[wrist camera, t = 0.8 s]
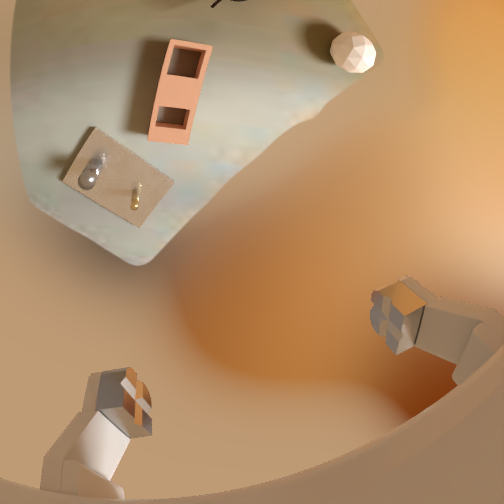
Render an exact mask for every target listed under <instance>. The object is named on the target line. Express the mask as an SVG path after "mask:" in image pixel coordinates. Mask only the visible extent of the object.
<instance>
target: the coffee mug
mask: <svg viewBox="0 0 504 504" xmlns="http://www.w3.org/2000/svg"><path fill="white" fill-rule="evenodd" d="M220 1H221V0H217V1H216V2H215V3H214V4H213V5H212V6H211V7H212V8H213V7H215V6H216V5H217V4H218V3H219V2H220ZM232 1H246V0H232Z"/></svg>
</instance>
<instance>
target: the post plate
mask: <svg viewBox="0 0 504 504" xmlns="http://www.w3.org/2000/svg"><path fill="white" fill-rule="evenodd" d="M63 182H64V183H66V184H67V185H69V186H71V187H72V188H74V189H76V190H77V191H79V192H80V193H82V194H84V195H85V196H87V197H88V198H90V199H92V200H93V201H95V202H97V203H98V204H100V205H102V206H103V207H105V208H107V209H108V210H110V211H112V212H113V213H115V214H117V215H118V216H120V217H122V218H123V219H125V220H127V221H129V222H130V223H132V224H134V225H135V226H137V227H139V228H140V226H141V225H142V224H143V222H144V221H145V220H146V218H147V217H148V216H149V214H150V213H151V212H152V210H153V209H154V208H155V206H156V205H157V204H158V203H159V201H160V200H161V199H162V198H163V196H164V195H165V194H166V193H167V191H168V190H169V189H170V188H171V186H172V185H173V184H174V180H173V179H171V178H170V177H168V176H167V175H165V174H164V173H163V172H161V171H160V170H158V169H157V168H155V167H154V166H152V165H151V164H150V163H148V162H147V161H145V160H144V159H142V158H141V157H139V156H138V155H137V154H135V153H134V152H132V151H131V150H129V149H128V148H126V147H125V146H123V145H122V144H120V143H119V142H118V141H116V140H115V139H113V138H112V137H110V136H109V135H107V134H106V133H104V132H103V131H101V130H100V129H98V128H97V127H95V128H94V130H93V131H92V133H91V134H90V136H89V137H88V139H87V141H86V142H85V144H84V145H83V147H82V148H81V150H80V152H79V153H78V155H77V157H76V158H75V160H74V162H73V163H72V165H71V167H70V169H69V170H68V172H67V174H66V176H65V178H64V179H63Z"/></svg>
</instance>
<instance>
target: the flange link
mask: <svg viewBox="0 0 504 504" xmlns="http://www.w3.org/2000/svg"><path fill="white" fill-rule="evenodd" d="M174 48H178V49H184V50H191V51H196V52H202V53H201V56H200V59H199V63H198V66H197V70H196V74H195V77H194V78H189V77H182V76H175V75H168V74H167V71H168V67H169V63H170V59H171V56H172V52H173V49H174ZM212 48H213V46H209V45H204V44H199V43H193V42H187V41H181V40H174V39H170V41H169V44H168V48H167V51H166V55H165V59H164V62H163V66H162V70H161V74H160V78H159V82H158V87H157V91H156V96H155V100H154V105H153V110H152V115H151V120H150V126H149V132H148V140H147V141H155V142H166V143H175V144H184V145H188V142H189V137H190V132H191V128H192V124H193V119H194V115H195V111H196V107H197V103H198V99H199V95H200V91H201V87H202V83H203V80H204V76H205V72H206V69H207V65H208V62H209V58H210V55H211V52H212ZM159 106H165V107H173V108H181V109H186V114H185V118H184V123H183V125H179V124H170V123H161V122H156V120H157V115H158V110H159Z"/></svg>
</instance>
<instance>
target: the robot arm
mask: <svg viewBox="0 0 504 504" xmlns="http://www.w3.org/2000/svg"><path fill="white" fill-rule="evenodd" d="M371 301H372V302H373V303H374V306H373V307H372V309H371V310H370V320H371V324H372V326H373V328H374V330H375V331H376V332H377V334H378V335H380V336H383V337H386V344H387V345H388V347H389V348H390V349H391V350H392V351H393V353H394V354H395V355H397V354H399V353H401V352H403V351H405V350H407V349H409V348H411V347H412V346H414V345H415V347H418V348H420V349H422V350H424V351H427V352H429V353H431V354H434V355H436V356H438V357H441V358H443V359H445V360H448V361H450V362H452V363H455V364H457V367H456V368H455V371H454V372H453V375H452V379H453V380H454V381H455V382H456V383H457V385H458V386H457V387H456V388H454V389H453V390H452V391H450V392H449V393H448V394H447V395H445V396H444V397H443V398H441V399H440V400H438V401H437V402H436V403H434V404H433V405H431V406H430V407H429V408H427V409H425V410H424V411H423V412H421V413H419V414H418V415H417V416H415V417H413V418H412V419H410V420H408V421H407V422H405V423H404V424H402V425H400V426H399V427H397V428H395V429H393V430H392V431H390V432H388V433H386V434H385V435H383V436H381V437H379V438H377V439H375V440H373V441H371V442H369V443H368V444H365V445H363V446H361V447H359V448H357V449H355V450H353V451H351V452H349V453H346V454H344V455H342V456H340V457H338V458H335V459H333V460H330V461H328V462H325V463H323V464H320V465H317V466H315V467H312V468H309V469H307V470H304V471H301V472H298V473H295V474H292V475H289V476H286V477H282V478H279V479H276V480H272V481H269V482H265V483H261V484H257V485H253V486H249V487H245V488H240V489H235V490H230V491H225V492H219V493H213V494H206V495H199V496H191V497H182V498H170V499H149V500H125V499H124V490H123V488H122V487H121V486H119V485H117V484H115V483H113V482H111V481H110V479H111V477H112V475H113V473H114V471H115V469H116V467H117V465H118V463H119V461H120V459H121V457H122V455H123V453H124V451H125V450H126V447H127V446H128V444H129V442H130V438H137V437H144V436H151V435H152V419H151V418H150V416H149V415H148V412H149V411H150V409H151V408H152V406H151V398H150V394H149V391H148V389H147V387H146V386H145V384H144V383H143V382H141V381H139V380H137V374H136V372H135V371H134V370H133V369H132V368H130V367H127V368H122V369H116V370H110V371H103V372H98V373H92V374H91V375H90V376H89V379H88V383H87V388H86V393H85V398H84V403H83V408H82V412H78V414H77V415H76V416H75V417H74V419H73V420H72V421H71V422H70V424H69V425H68V426H67V428H66V429H65V430H64V432H63V433H62V434H61V435H60V437H59V438H58V439H57V440H56V442H55V443H54V444H53V446H52V447H51V448H50V450H49V451H48V452H47V453H46V455H45V456H44V460H43V468H42V476H41V486H40V489H38V488H33V487H29V486H26V485H22V484H18V483H15V482H11V481H8V480H5V479H2V478H0V504H504V317H503V316H502V315H501V314H500V313H499V312H498V311H497V310H495V309H492V308H487V307H483V306H479V305H474V304H470V303H466V302H462V301H458V300H453V299H449V298H445V297H440V298H438V297H436V296H435V295H434V294H433V293H431V292H430V291H429V290H428V289H427V288H425V287H424V286H423V285H421V284H420V283H419V282H418V281H417V280H415V279H414V278H413V277H411V276H408V275H407V276H405V277H403V278H401V279H398V280H397V281H394V282H392V283H390V284H388V285H385V286H383V287H381V288H379V289H377V290H374V291H373V293H372V295H371Z"/></svg>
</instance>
